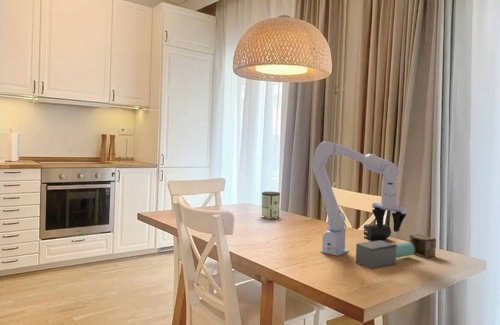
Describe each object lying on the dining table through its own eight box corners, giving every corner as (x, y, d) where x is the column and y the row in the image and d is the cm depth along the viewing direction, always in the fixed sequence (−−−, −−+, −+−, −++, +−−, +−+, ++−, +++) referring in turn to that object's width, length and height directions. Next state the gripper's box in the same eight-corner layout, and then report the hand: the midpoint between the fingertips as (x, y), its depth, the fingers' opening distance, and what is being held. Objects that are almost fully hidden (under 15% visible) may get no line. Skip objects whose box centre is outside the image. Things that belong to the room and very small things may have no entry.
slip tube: (371, 265, 134) (371, 250, 134) (360, 261, 138) (361, 247, 138) (415, 256, 146) (415, 243, 146) (404, 253, 150) (404, 240, 150)
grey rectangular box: (372, 269, 133) (372, 249, 132) (355, 262, 139) (356, 243, 139) (395, 264, 139) (396, 245, 138) (378, 258, 145) (379, 240, 145)
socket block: (426, 258, 147) (427, 240, 147) (409, 252, 154) (409, 235, 154) (435, 256, 150) (436, 238, 149) (417, 251, 157) (417, 234, 156)
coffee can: (266, 214, 229) (267, 190, 228) (282, 216, 223) (283, 192, 222) (258, 217, 220) (258, 192, 219) (273, 219, 214) (274, 194, 214)
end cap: (372, 241, 170) (372, 226, 170) (362, 238, 177) (363, 223, 177) (390, 240, 174) (391, 225, 173) (380, 236, 180) (381, 222, 180)
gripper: (412, 195, 143) (411, 232, 144) (381, 191, 155) (380, 224, 156) (400, 196, 139) (398, 234, 140) (369, 192, 152) (367, 226, 152)
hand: (388, 229), depth 148 cm, fingers open, 7 cm apart
